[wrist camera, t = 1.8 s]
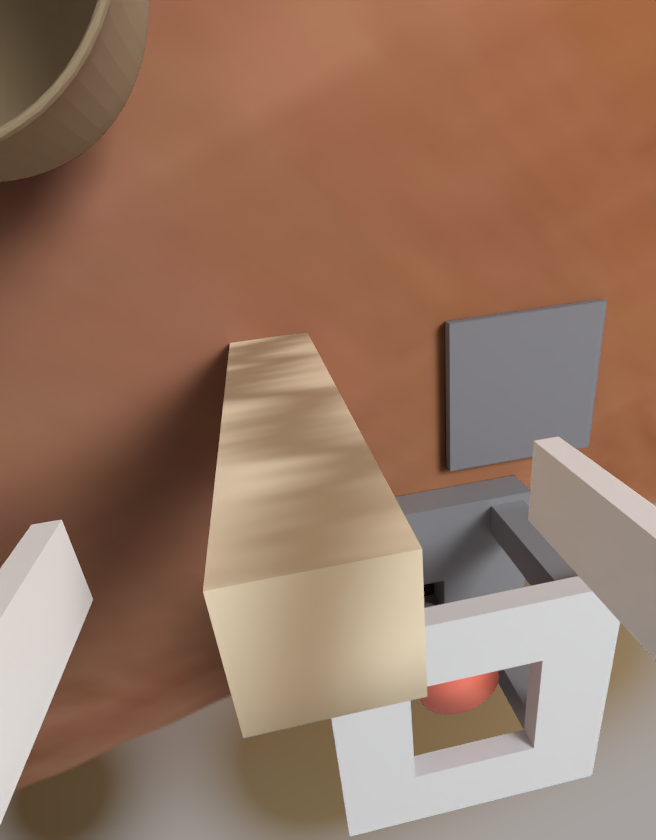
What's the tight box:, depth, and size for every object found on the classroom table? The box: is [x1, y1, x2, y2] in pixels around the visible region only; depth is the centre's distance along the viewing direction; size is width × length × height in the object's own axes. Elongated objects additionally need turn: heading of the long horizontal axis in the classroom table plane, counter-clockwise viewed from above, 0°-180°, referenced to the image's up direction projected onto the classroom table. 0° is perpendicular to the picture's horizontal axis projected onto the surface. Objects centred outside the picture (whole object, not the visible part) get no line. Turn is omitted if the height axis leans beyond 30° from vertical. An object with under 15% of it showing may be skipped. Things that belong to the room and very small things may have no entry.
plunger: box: [420, 603, 499, 715], centre depth 28 cm, size 4×4×5 cm
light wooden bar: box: [203, 332, 427, 738], centre depth 18 cm, size 4×4×18 cm
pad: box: [445, 299, 607, 471], centre depth 28 cm, size 9×9×1 cm
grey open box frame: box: [331, 475, 620, 836], centre depth 29 cm, size 14×14×10 cm
